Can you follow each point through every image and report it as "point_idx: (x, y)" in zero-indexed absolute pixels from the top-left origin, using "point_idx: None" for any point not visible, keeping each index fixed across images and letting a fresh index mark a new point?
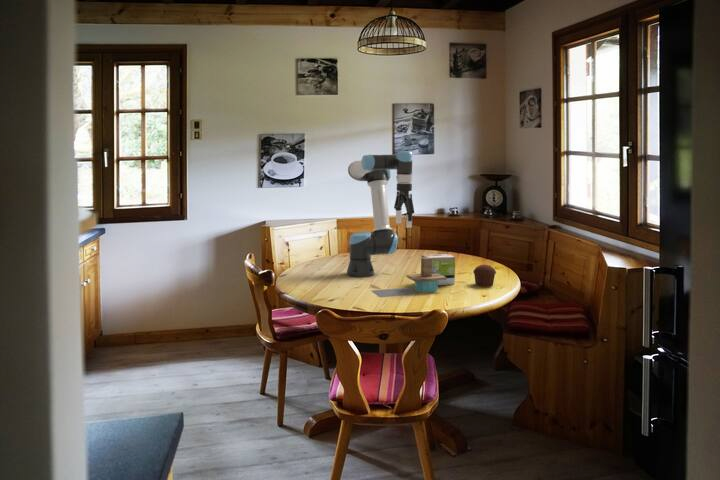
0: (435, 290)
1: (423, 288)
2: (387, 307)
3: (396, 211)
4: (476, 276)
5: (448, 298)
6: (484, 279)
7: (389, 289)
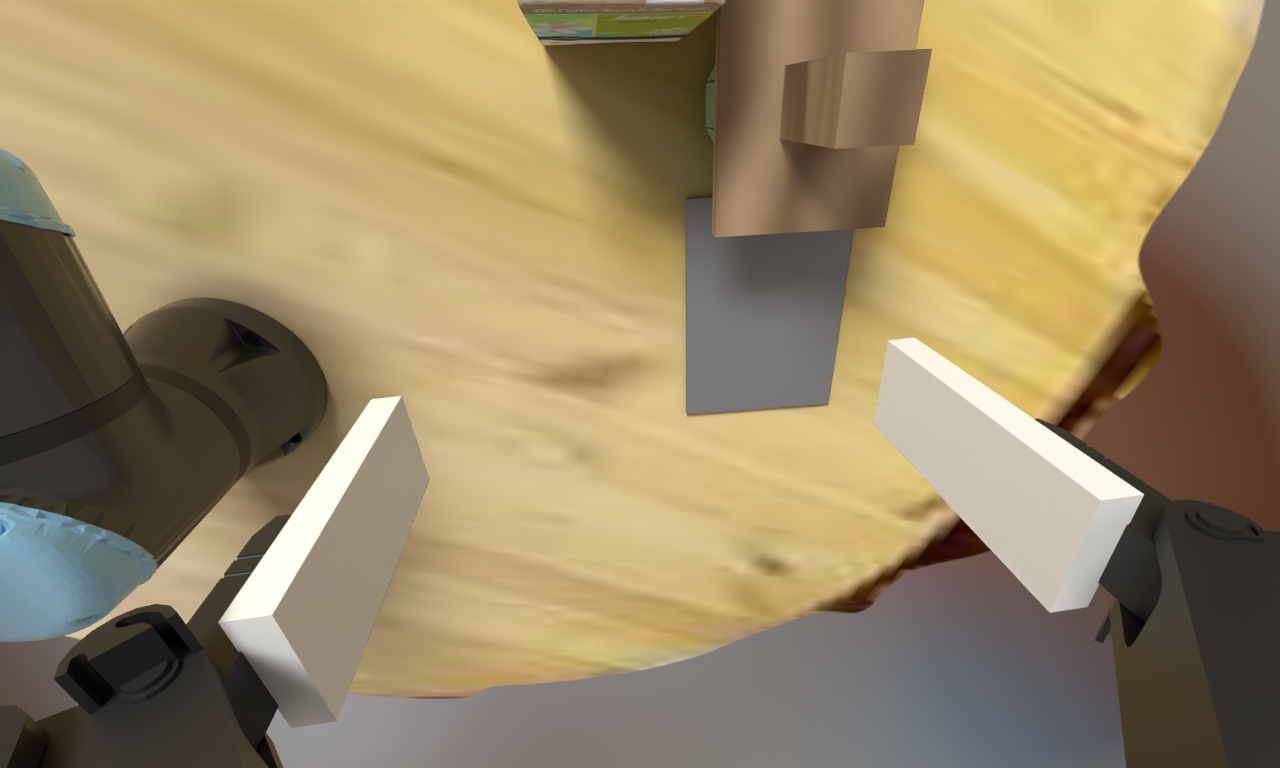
0: None
1: None
2: None
3: (338, 701)
4: None
5: (1026, 36)
6: None
7: (696, 323)
